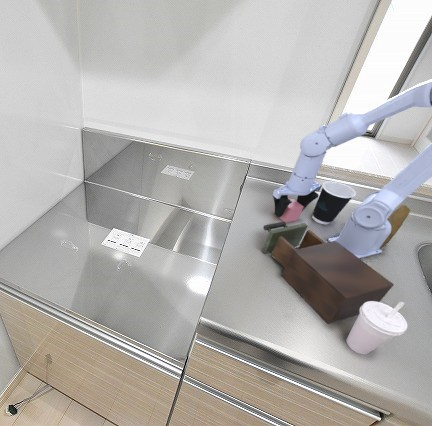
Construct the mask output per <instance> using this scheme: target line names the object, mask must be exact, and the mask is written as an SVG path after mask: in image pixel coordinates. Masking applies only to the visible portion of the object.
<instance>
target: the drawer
mask: <svg viewBox="0 0 432 426" xmlns="http://www.w3.org/2000/svg"><path fill="white" fill-rule="evenodd" d="M308 227H309V225H308V224H307V223H306V222H303V223H299V224H293V225H290V226H289V225H287V222H284V221H283V220H282V221H279V222H278V221H277V222H273V223H269V224H265V225H263V227H262V228H263V230H264V231H267V232H268V234H267V237H266V240H265V241H264V245H263V247H262V252H264V254H267V253H271V252H272V253H271V256H272V258H274V259H275V261H276V262H277V263H278V264H279V265H280V266H282V267H283V268H284V269H285V267H286V265H287V263H288V261H289V259H290V257H291V255H292V252H293V250H297V249H301V248H305V247H310V246H314V245H318V244H322V243H327V241H324V240H323V239H322V238H321V237H320V236H318V235H317V234H315V233H314V232H313V231H312V230H310V229H308Z"/></svg>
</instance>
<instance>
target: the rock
mask: <svg viewBox="0 0 432 426" xmlns="http://www.w3.org/2000/svg"><path fill="white" fill-rule="evenodd" d="M410 213H411V209H410V208H409V207H408V205H405V204H402V205H400V206H399V205H398V207H397V209H396V210H395V211H394V212H393V213H392V214H391V215H390V217H389V218H388V219H387V220H388V221H389V222H390V224H391V233H390V234H389V236H388V237H387V238H386V240H385V241H384V243H383V244H382V245H381V247H380V249H382V248H383V247H385V246H386V245H387V244H388V243H390V241H391V240H392V238H393V237H394V236H395V235H396V234H397V232H398V231H399V230H400V228H401V227H402V226H403V224H404V222H405V220H406V219H407V217H408V216H409V214H410Z"/></svg>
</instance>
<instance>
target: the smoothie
mask: <svg viewBox="0 0 432 426" xmlns="http://www.w3.org/2000/svg"><path fill="white" fill-rule="evenodd" d="M404 305H405V302H403V301H399V302H398V303H397V305H395V307H394V308H393V307H391V305H388V304H386V303H383V302H381V301H380V302H376V301H368V302H365V303H364V304H363V305H362V306H361V307H360V314H359V315H357V318H356V319H355V322H354V323H353V326H352V328H351V329H350V332H349V334H348V335H347V338H346V339H345V341H346V344H347V346H348V347H349V348H350V349H351V350H352V351H353V352H355V353H356V354H360V355H363V356H364V355H368V354H369V353H371V352H373V351H374V350H376V349H377V348H379V347H381V346H382V345H384V344H385V343H387V342H388V341H390V340H391V339H393V338H394V337H396V336H397V337H398V336H401V335H404V333H405V332H406V330H407V329H408V322H407V320H406V319H405V317H404V316H403V315H402V314H401V313H400V312H399V311H400V310H401V308H402V307H403V306H404Z"/></svg>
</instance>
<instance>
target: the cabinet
mask: <svg viewBox="0 0 432 426" xmlns="http://www.w3.org/2000/svg"><path fill="white" fill-rule="evenodd" d="M281 277H282V278H283V279H284V280H285V281H286V283H288V285H290V287H292V289H293V290H295V292H296V293H297V294H298V295H299V296H300V297H301V298H302V299H303V300H304V301H305V303H307V304H308V305H309V306H310V308H312V309H313V311H314V312H316V313H317V315H318V316H319V317H320V318H321V319H322V320H323V321H324V322H325V323H326V324H327V325H330V324H333V323H335V322H340V321H343V320H346V319H349V318H354V317H356V316H359V314H360V307H361V306H362V305H363V304H364V303H365V302H368V301H376V302H380V303H381V301H382V300H383V299H384V298H385V296H386V295H387V294H388V293H389V292H390V290H392V288H393V287H394V285H395V284H394V283H393V282H391V281H390V280H388V279H387V278H386V277H385V276H384V275H382V274H381V273H379V272H378V271H377V270H375V269H374V268H372V267H371V265H369V264H367V263H366V262H365V261H363V260H362V258H358V257H357V256H355V255H354V254H353V253H351V252H350V251H349V250H347V249H346V248H345V247H343V246H342V245H341V244H339V243H338V242H337V241H331V242H329V241H326V243H322V244H318V245H314V246H310V247H305V248H301V249H297V250H293V252H292V255H291V257H290V259H289V261H288V263H287V265H286V267H285V268H284V269H283V271H282V273H281Z"/></svg>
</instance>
